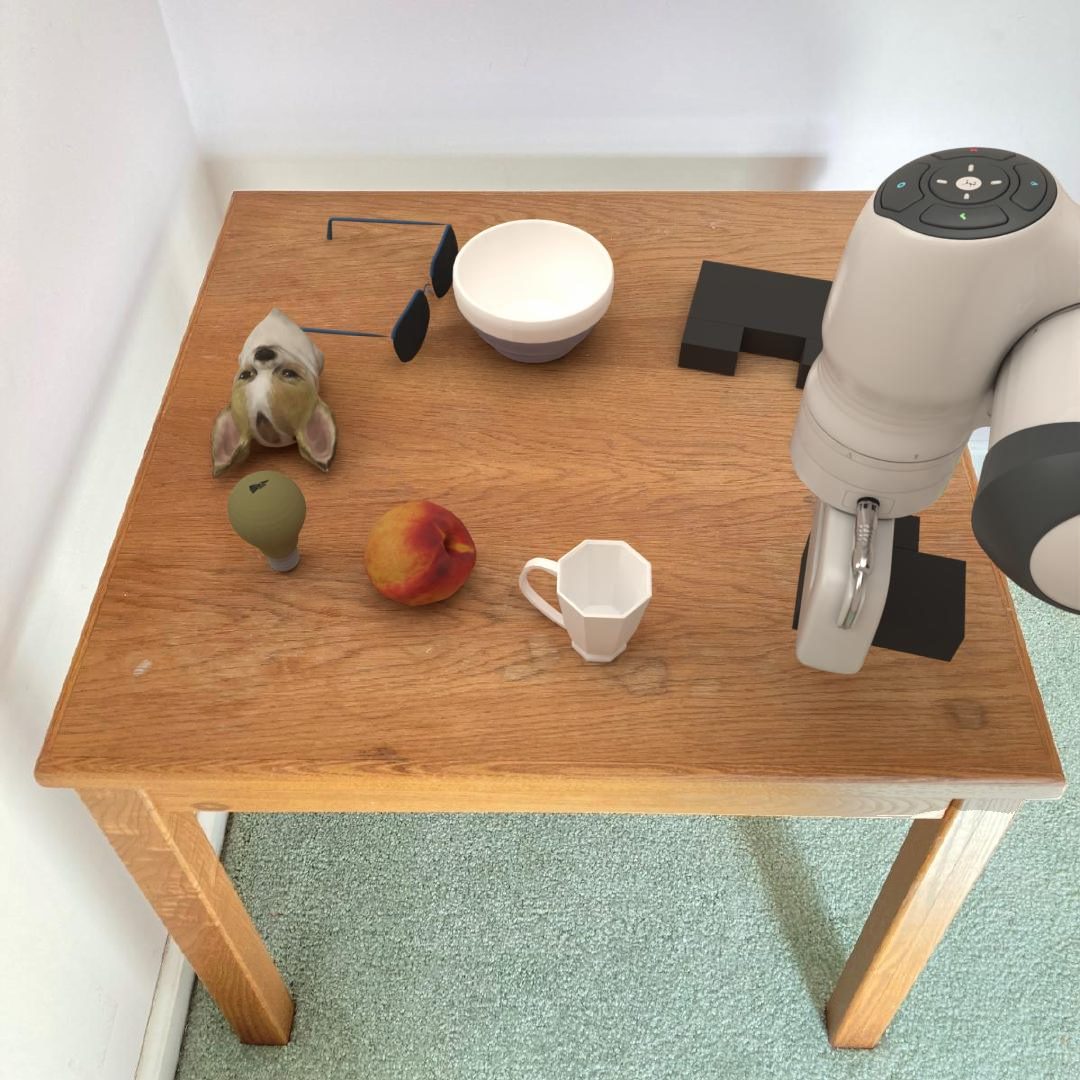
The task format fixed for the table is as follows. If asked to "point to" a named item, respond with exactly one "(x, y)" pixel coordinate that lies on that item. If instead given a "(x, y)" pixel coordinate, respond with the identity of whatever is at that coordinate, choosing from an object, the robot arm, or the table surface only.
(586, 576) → the cup
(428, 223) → the sunglasses
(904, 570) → the black stepped block
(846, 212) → the table surface
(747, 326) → the base pad
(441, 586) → the fruit
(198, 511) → the table surface
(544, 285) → the bowl
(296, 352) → the ceramic sculpture
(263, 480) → the light bulb
